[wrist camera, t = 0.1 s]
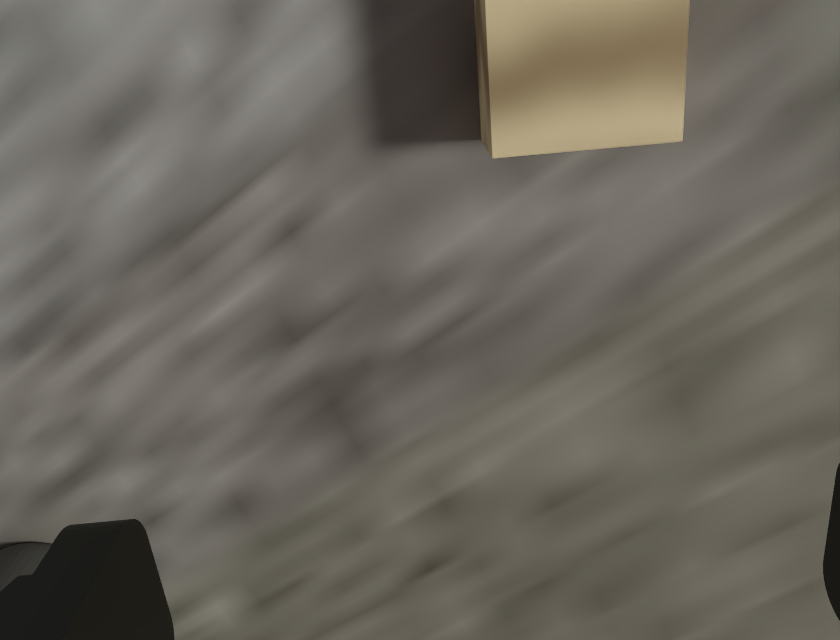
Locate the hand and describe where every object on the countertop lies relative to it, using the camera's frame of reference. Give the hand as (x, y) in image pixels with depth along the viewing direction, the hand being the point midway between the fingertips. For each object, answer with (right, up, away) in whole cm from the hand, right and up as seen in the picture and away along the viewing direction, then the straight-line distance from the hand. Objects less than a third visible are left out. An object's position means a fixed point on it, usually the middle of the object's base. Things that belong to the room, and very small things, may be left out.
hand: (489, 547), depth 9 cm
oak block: (+6, +15, +26) cm, 30 cm away
